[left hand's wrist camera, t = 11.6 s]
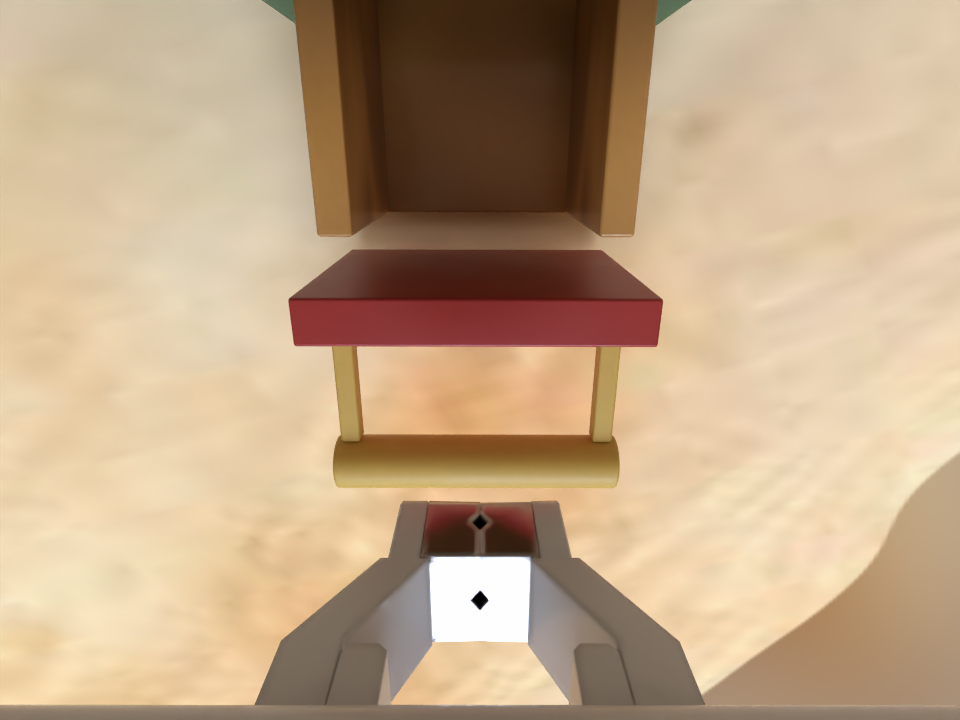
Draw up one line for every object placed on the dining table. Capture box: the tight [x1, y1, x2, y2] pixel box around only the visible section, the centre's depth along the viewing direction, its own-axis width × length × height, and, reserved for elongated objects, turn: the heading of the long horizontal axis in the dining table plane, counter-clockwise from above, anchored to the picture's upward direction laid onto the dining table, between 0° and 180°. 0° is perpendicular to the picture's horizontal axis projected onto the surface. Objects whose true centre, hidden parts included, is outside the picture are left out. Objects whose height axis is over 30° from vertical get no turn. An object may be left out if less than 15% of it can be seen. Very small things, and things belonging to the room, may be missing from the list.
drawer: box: [289, 0, 663, 488], centre depth 15 cm, size 19×9×7 cm, turn 0°
